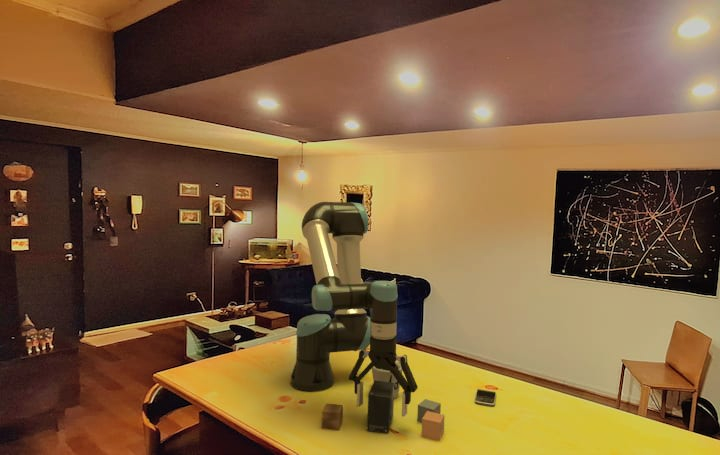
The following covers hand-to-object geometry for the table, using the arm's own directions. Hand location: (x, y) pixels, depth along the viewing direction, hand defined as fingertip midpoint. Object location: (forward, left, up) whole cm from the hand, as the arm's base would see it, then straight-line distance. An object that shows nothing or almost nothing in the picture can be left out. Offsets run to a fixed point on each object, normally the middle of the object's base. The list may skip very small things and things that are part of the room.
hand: (381, 409), depth 122 cm
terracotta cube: (+15, +1, -4) cm, 15 cm away
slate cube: (+12, +8, -4) cm, 15 cm away
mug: (-7, +20, -4) cm, 22 cm away
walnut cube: (-12, -7, -4) cm, 15 cm away
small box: (0, 0, -5) cm, 5 cm away
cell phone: (+25, +31, -5) cm, 40 cm away
